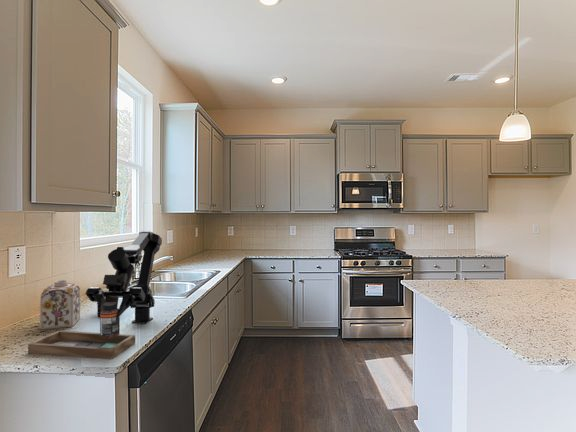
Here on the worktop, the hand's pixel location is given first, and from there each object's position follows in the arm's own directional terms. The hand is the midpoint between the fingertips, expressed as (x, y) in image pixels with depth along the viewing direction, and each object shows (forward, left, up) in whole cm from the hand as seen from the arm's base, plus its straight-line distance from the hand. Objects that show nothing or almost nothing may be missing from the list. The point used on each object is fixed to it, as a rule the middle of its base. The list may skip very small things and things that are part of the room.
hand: (108, 316), depth 113 cm
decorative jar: (-22, -37, -12) cm, 45 cm away
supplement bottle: (-1, 0, -7) cm, 7 cm away
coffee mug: (-39, -28, -12) cm, 50 cm away
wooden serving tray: (-1, -10, -12) cm, 15 cm away
